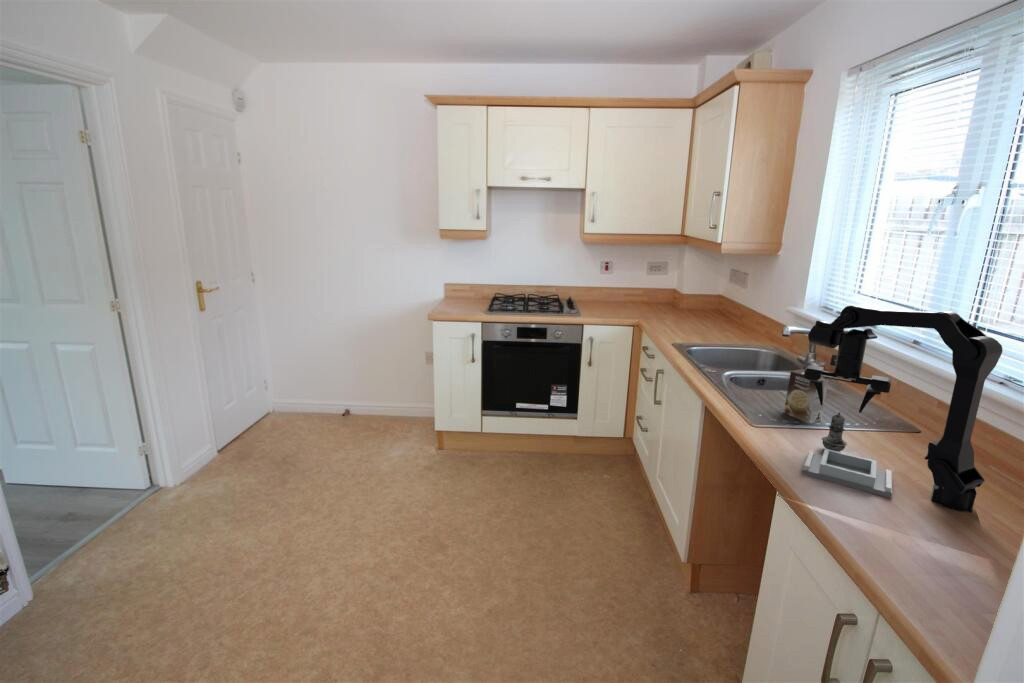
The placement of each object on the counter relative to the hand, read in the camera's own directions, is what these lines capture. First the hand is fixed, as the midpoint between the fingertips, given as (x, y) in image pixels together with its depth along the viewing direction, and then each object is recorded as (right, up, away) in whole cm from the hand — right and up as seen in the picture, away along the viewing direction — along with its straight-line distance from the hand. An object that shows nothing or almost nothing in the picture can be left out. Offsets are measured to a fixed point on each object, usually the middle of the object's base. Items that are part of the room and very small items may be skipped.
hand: (840, 408), depth 131 cm
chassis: (-5, -15, -9) cm, 19 cm away
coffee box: (+4, -8, +25) cm, 27 cm away
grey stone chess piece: (0, -13, +3) cm, 13 cm away
